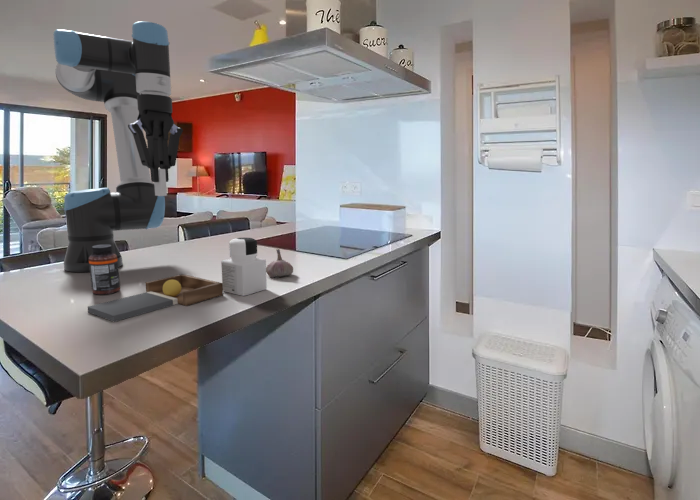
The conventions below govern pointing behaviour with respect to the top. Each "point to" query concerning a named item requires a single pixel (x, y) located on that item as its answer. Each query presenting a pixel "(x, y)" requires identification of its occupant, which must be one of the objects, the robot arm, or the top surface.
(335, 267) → the top surface
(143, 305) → the grey flat slab
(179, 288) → the ball
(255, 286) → the container
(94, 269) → the supplement bottle
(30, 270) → the top surface
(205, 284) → the tray
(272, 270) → the garlic bulb
